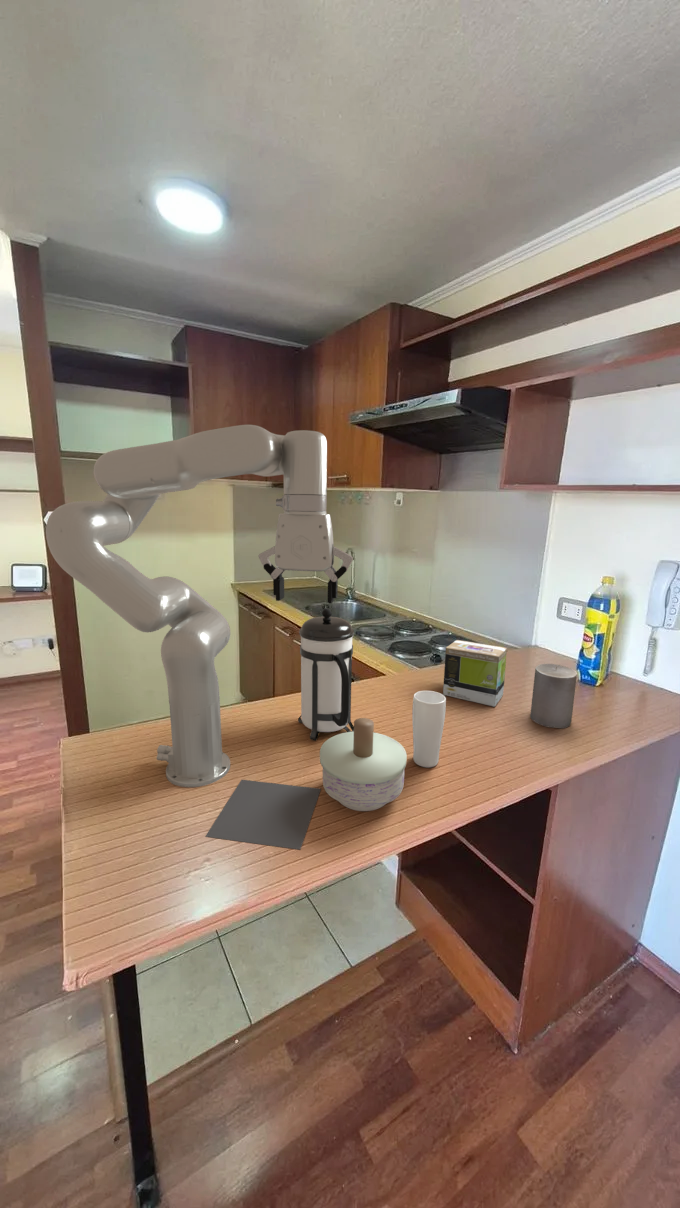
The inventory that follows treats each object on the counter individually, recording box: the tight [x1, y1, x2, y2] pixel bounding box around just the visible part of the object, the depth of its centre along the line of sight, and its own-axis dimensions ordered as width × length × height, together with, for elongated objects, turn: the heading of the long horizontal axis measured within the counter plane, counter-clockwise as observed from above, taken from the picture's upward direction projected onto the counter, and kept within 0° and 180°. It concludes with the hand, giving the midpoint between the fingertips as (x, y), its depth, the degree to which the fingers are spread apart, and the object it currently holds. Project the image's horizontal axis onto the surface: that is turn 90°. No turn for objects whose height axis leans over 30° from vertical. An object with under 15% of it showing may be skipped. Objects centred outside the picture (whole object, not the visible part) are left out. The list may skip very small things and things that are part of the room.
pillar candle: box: [529, 663, 578, 729], centre depth 117 cm, size 10×10×15 cm
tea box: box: [442, 639, 508, 708], centre depth 131 cm, size 15×10×15 cm, turn 58°
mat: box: [205, 779, 322, 851], centre depth 82 cm, size 16×16×1 cm
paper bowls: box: [322, 767, 405, 812], centre depth 86 cm, size 15×15×8 cm
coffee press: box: [297, 608, 355, 742], centre depth 108 cm, size 17×16×30 cm
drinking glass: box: [411, 690, 447, 768], centre depth 97 cm, size 7×7×15 cm
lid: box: [319, 717, 408, 784], centre depth 84 cm, size 16×16×7 cm
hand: (305, 600), depth 85 cm, fingers open, 9 cm apart
